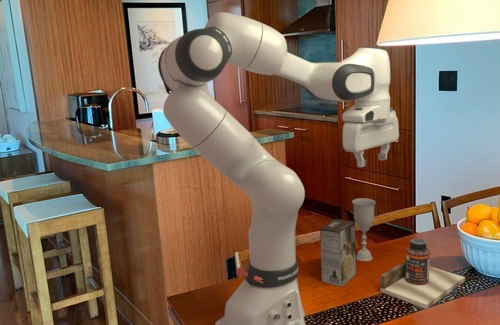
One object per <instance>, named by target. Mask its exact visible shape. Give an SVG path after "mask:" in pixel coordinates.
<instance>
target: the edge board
mask: <svg viewBox="0 0 500 325" xmlns="http://www.w3.org/2000/svg"><path fill="white" fill-rule="evenodd" d="M464 282H466V277H465V276H462V275H458V274H456V273H452V272H449V271H445V270H442V269H439V268H436V267H433V266H430V265H429V281H428V282H427V283H425V284H422V285H417V284H412V283H410V282H408V281H407V280H406V260H405V261H402V262H401V263H399V264H397V265H395V266H394V267H392V268H390V269H388V270H386V271H385V272H384V273H381V274H380V293H383V294H386V295H387V296H390V297H393V298H396V299H398V300H401V301H404V302H406V303H409V304H411V305H413V306H416V307H420V308H421V309H425V310H427V309H429V308H430V307H432V306H433V305H434V304H436V302H438V301H440V300H441V299H442V298H444V297H445V296H446V295H448V294H449V293H450V292H452V291H453V290H455V289H457V287H460V286H461V285H462V284H463V283H464Z"/></svg>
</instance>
